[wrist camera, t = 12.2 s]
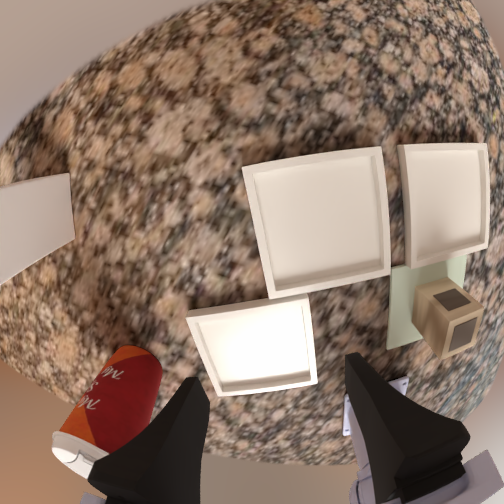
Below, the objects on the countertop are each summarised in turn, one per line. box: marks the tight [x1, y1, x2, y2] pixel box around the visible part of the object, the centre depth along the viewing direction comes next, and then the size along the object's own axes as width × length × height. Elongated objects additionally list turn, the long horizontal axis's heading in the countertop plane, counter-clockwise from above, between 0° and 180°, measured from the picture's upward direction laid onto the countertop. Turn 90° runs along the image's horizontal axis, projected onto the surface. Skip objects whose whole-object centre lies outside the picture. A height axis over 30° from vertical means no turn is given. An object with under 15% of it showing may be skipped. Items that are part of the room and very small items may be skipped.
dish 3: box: [397, 143, 490, 269], centre depth 18 cm, size 10×10×1 cm
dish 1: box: [242, 146, 391, 300], centre depth 19 cm, size 10×10×1 cm
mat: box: [386, 254, 467, 350], centre depth 22 cm, size 9×9×1 cm
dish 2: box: [186, 293, 318, 396], centre depth 23 cm, size 10×10×1 cm
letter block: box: [412, 277, 484, 360], centre depth 19 cm, size 4×4×6 cm
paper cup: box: [52, 345, 162, 479], centre depth 19 cm, size 8×8×14 cm
